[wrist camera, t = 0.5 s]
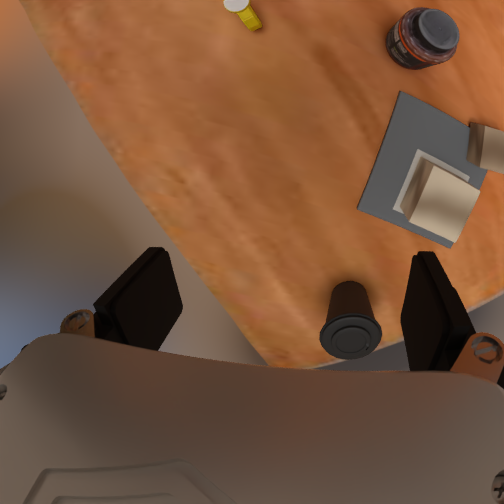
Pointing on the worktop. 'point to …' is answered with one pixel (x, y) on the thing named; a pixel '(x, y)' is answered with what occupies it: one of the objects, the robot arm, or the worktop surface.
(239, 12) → the watch
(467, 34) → the worktop surface
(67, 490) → the robot arm
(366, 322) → the coffee cup
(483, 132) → the oak block
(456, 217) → the maple block
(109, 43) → the worktop surface
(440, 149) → the slate mat
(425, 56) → the supplement bottle
